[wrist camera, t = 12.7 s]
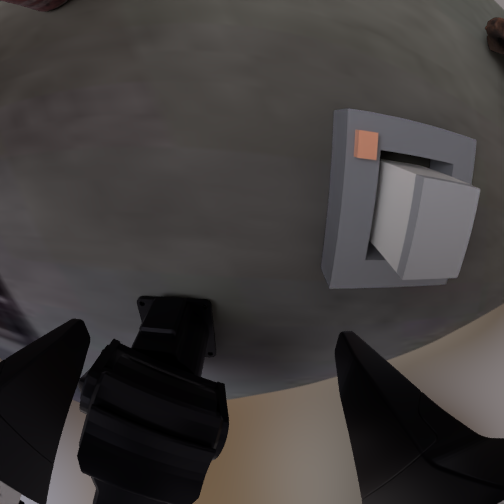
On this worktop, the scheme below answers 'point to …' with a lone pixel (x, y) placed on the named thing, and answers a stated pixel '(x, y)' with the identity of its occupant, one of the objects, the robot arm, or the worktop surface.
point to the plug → (422, 220)
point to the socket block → (365, 185)
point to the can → (38, 4)
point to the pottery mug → (496, 35)
